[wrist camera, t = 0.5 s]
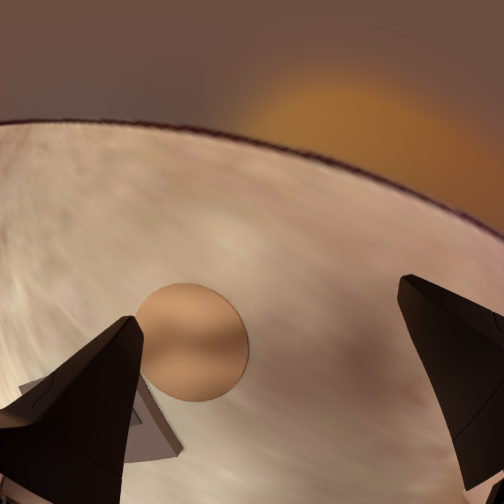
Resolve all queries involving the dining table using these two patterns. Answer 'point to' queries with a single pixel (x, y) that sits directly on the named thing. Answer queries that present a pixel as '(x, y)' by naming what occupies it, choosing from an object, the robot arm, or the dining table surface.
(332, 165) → the dining table surface
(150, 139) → the dining table surface
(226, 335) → the cork coaster
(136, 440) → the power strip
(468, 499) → the cylinder with rectangular tab
